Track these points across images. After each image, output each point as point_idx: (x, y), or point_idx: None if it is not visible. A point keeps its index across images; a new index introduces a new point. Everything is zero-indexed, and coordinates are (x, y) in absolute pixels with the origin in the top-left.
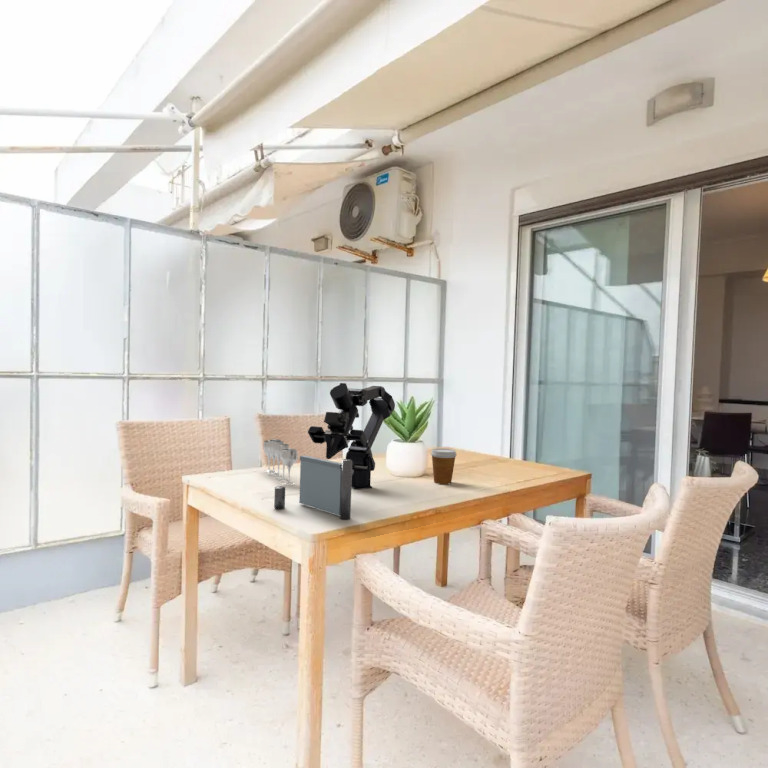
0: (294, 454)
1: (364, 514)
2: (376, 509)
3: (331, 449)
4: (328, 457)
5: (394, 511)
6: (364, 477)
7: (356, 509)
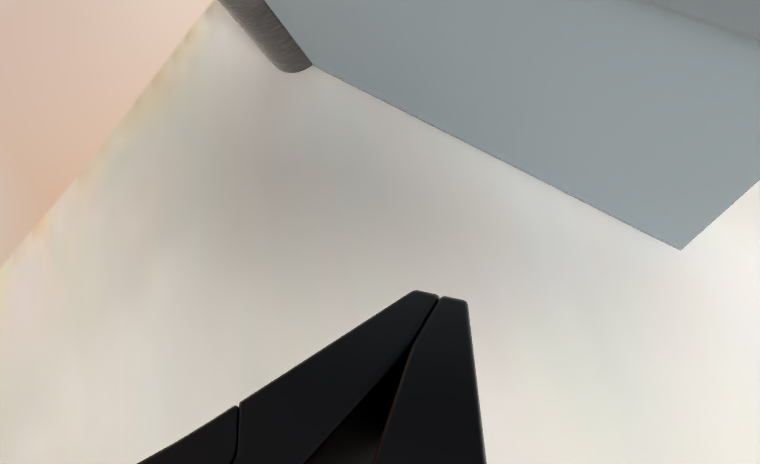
0: None
1: (211, 154)
2: (156, 278)
3: (325, 386)
4: (416, 297)
5: (67, 269)
6: None
7: (265, 240)
